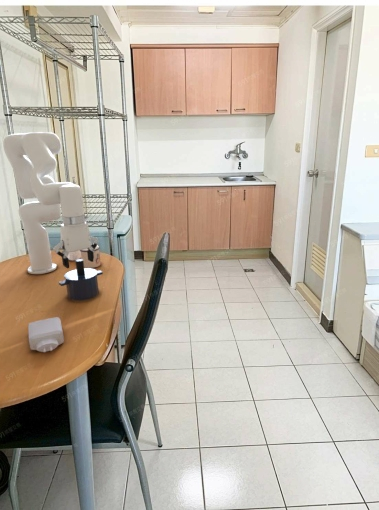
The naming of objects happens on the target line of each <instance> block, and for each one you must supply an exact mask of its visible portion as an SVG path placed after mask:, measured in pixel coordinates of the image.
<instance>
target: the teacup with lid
mask: <svg viewBox="0 0 379 510" xmlns="http://www.w3.org/2000/svg"><path fill="white" fill-rule="evenodd" d="M91 245H92V243H91ZM87 250H88V249H82V250H80V253H81V258H80V259H83V262H84V268H91V269H95V268H98V267H100V266H101V263H102V262H101V254H100V246H99V245H98V244H97V246H96V248H95V249H94V252H93V254H94V259H93V262H91V261H89V260H88V254H87Z"/></svg>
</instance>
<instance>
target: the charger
mask: <svg viewBox="0 0 379 510" xmlns="http://www.w3.org/2000/svg"><path fill="white" fill-rule="evenodd" d="M62 326H63V325H62V322H61V317H58V316H54V317H50V318H49V317H48V318H44V319H40V320H39V319H38V320H35V321H31V322H29V323H28V324H27V329H28V343H29V349H30V350H31V351H37V352H41V353H47V352H49V351H50V352H52V351H53V350H55V349H56V348H58V346H60V345H61V344H64V343H65V338H64V332H63V327H62Z"/></svg>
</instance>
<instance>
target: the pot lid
mask: <svg viewBox="0 0 379 510" xmlns="http://www.w3.org/2000/svg"><path fill="white" fill-rule="evenodd" d="M75 267H76V268H75V269H72V270H69V271H68V272H66V273H65V274H64V275H63V277H64V278H63V279H64V280H68V281H84V280H89V279H91V278H94V277H95V276H97V274H98V272H97V271H98V270H97V269H95V268H84V262H83V259H81V258H80V259H77V260H75ZM97 277H98V276H97Z"/></svg>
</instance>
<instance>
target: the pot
mask: <svg viewBox="0 0 379 510" xmlns="http://www.w3.org/2000/svg"><path fill="white" fill-rule="evenodd" d="M97 272H98V274H97V276H95V277H94V278H91V279H89V280H84V281H68V280H66V279H64V280H61V281H58V285H59V286H60V287H64V286H66V292H67V298H68V299H70V300H71V301H74V302H75V301H77V302H79V301H80V302H81V301H88V300H91V299H94V298H96V297H98V295H99V293H100V292H99V283H98V276H102V275H103V274H104V273H103V271H102V270H99V269H98V270H97Z"/></svg>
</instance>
